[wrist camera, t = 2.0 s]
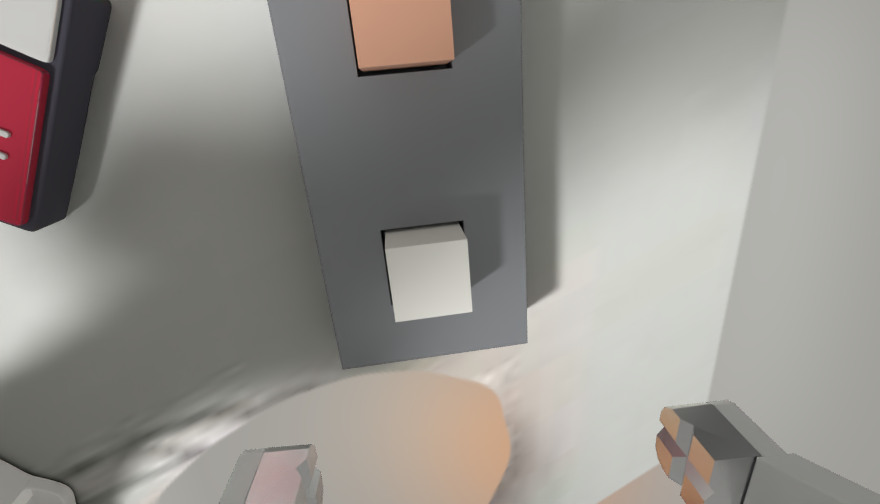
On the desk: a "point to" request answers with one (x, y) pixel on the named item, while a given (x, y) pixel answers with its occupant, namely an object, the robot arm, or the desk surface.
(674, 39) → the desk surface
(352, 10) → the key terracotta
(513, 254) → the console
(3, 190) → the calculator
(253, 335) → the desk surface
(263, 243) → the desk surface
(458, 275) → the key white
